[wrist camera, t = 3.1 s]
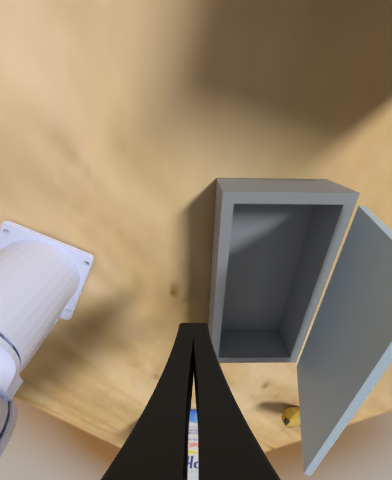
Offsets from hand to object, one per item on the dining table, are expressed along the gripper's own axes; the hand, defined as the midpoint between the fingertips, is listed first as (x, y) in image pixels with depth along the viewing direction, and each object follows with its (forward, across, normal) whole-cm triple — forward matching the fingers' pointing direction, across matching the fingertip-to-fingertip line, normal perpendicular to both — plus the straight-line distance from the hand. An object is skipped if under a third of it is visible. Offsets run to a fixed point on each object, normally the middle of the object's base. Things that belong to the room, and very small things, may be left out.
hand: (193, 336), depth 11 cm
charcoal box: (+10, -6, +4) cm, 13 cm away
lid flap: (+2, -9, +3) cm, 10 cm away
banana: (+11, -16, +30) cm, 36 cm away
